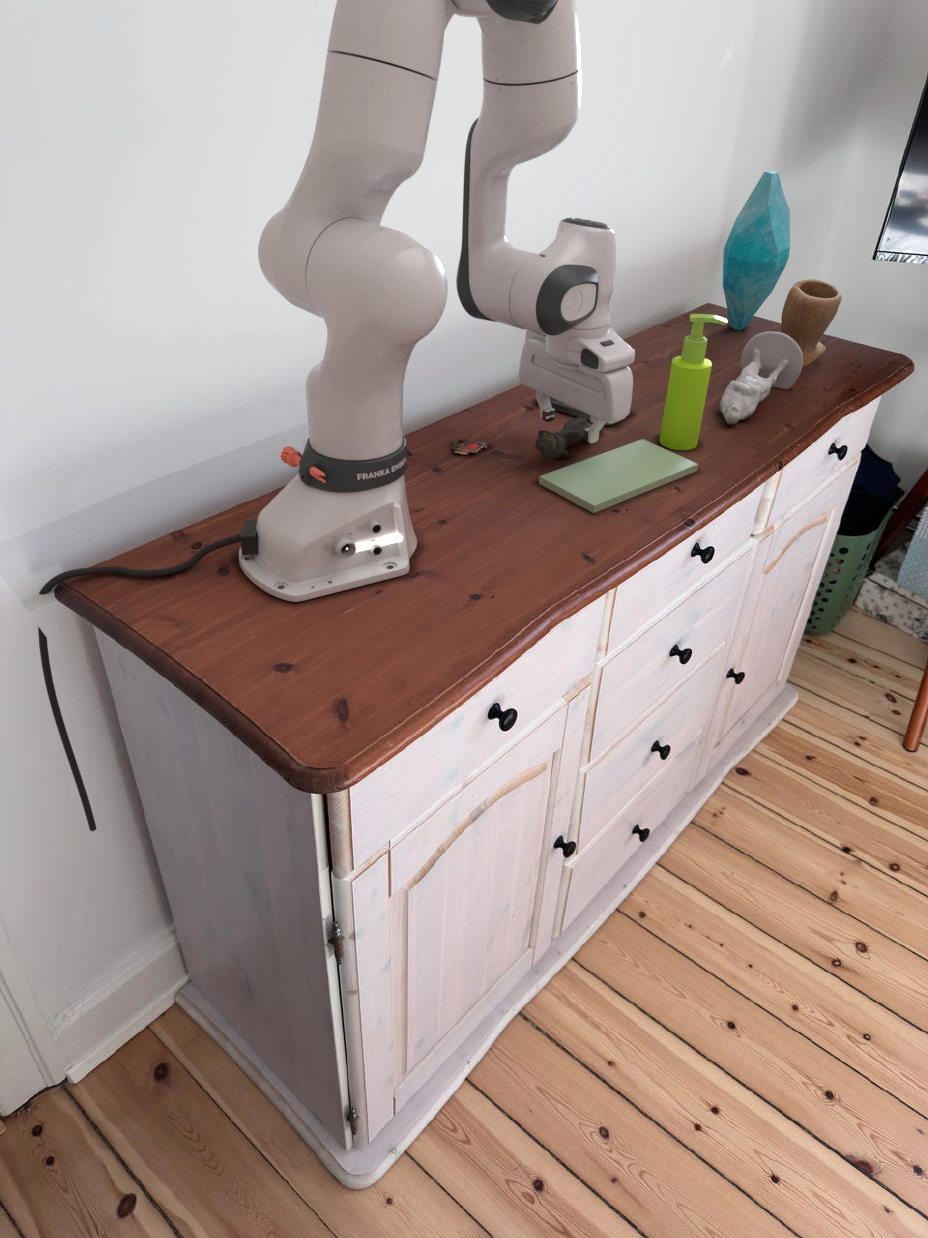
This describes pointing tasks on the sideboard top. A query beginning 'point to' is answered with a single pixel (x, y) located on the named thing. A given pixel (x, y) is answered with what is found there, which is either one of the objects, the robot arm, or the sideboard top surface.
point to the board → (617, 475)
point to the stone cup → (809, 315)
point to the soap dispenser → (688, 388)
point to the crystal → (756, 250)
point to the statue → (562, 438)
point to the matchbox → (467, 446)
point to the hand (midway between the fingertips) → (568, 430)
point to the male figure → (761, 373)
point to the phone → (572, 410)
